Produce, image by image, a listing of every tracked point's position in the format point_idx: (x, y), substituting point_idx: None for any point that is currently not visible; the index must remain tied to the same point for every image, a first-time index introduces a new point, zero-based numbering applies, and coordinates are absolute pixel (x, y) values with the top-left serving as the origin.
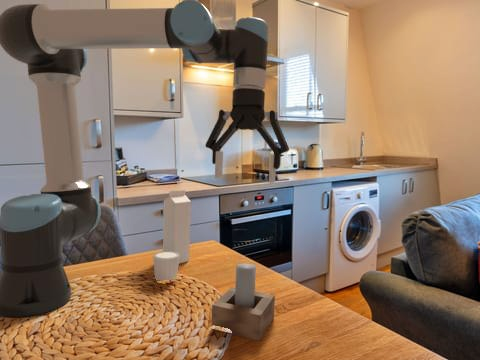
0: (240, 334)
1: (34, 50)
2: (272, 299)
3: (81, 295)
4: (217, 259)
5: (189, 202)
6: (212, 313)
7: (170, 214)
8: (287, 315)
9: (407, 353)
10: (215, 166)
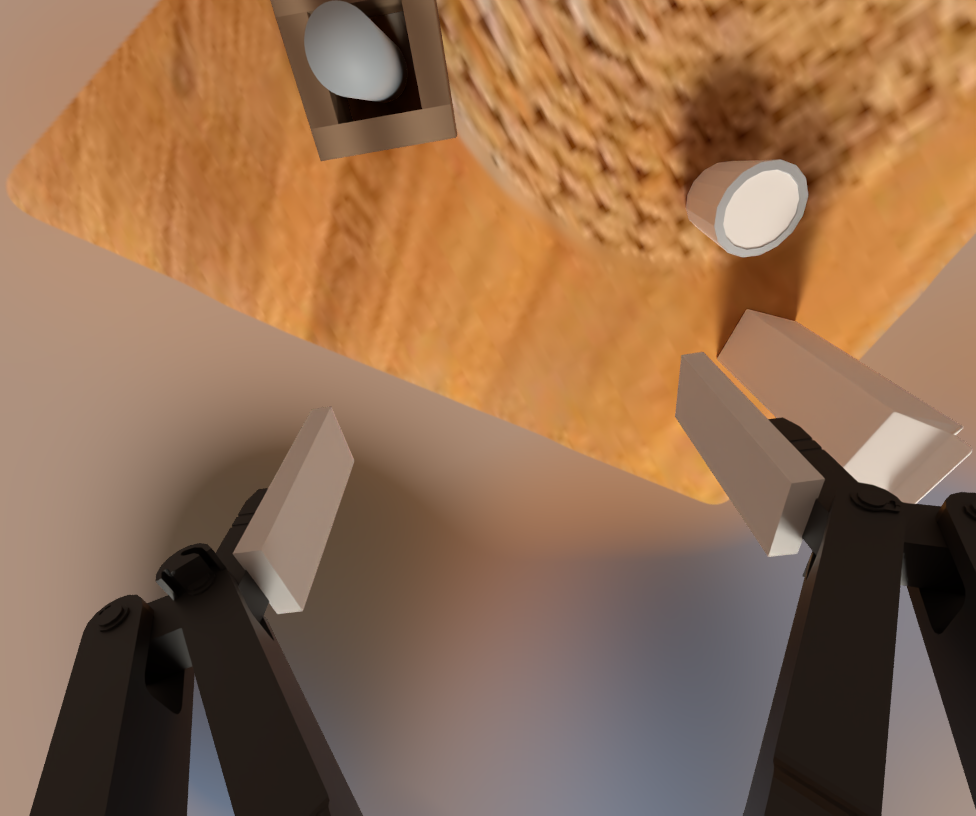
0: None
1: None
2: (312, 131)
3: None
4: (648, 409)
5: None
6: None
7: (878, 388)
8: (320, 193)
9: (22, 174)
10: (742, 395)
